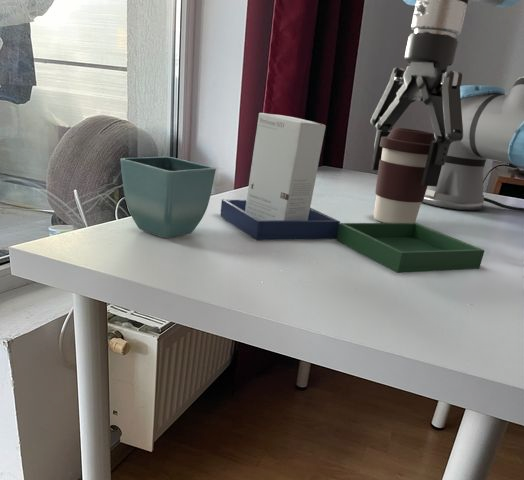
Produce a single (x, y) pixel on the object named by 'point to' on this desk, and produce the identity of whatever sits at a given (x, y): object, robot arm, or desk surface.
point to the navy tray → (279, 224)
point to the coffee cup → (401, 175)
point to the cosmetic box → (284, 167)
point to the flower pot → (166, 193)
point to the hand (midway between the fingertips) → (401, 177)
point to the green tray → (409, 247)
